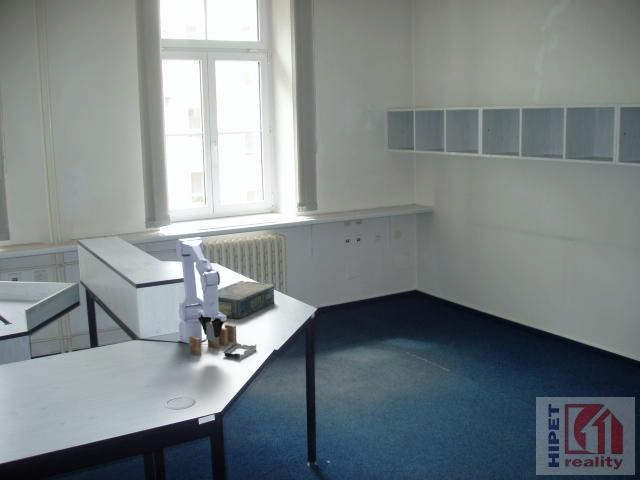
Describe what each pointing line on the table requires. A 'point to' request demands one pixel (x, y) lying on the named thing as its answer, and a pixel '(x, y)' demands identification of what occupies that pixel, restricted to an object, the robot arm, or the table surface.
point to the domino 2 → (210, 332)
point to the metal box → (244, 298)
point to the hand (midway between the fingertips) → (212, 335)
